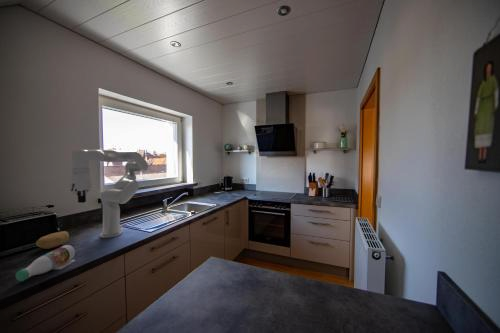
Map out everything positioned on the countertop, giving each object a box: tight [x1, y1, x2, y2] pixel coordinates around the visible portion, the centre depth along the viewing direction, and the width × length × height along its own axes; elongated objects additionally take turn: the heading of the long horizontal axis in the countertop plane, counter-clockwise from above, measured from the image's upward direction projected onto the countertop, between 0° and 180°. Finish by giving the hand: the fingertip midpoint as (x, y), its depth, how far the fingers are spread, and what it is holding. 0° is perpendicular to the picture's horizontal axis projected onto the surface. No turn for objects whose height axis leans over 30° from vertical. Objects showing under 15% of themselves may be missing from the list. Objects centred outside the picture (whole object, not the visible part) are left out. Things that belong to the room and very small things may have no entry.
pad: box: [52, 259, 76, 270], centre depth 96 cm, size 8×15×1 cm, turn 91°
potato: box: [35, 230, 70, 250], centre depth 114 cm, size 10×14×8 cm
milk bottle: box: [15, 244, 76, 282], centre depth 91 cm, size 8×8×20 cm
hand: (81, 202), depth 113 cm, fingers closed
